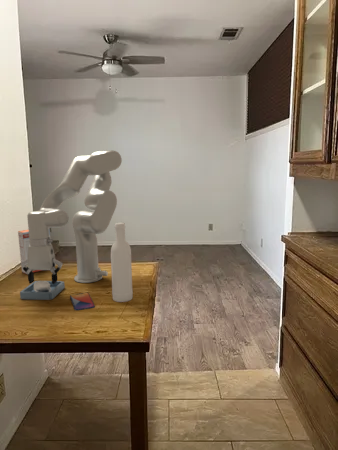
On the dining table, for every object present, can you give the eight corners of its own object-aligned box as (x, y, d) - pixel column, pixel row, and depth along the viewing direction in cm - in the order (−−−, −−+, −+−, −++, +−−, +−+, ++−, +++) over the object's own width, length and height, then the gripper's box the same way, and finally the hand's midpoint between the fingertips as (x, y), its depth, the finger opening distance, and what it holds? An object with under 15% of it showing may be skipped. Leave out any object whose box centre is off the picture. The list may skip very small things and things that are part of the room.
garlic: (52, 291, 142) (53, 282, 143) (35, 292, 139) (35, 282, 139) (48, 289, 149) (48, 280, 149) (31, 289, 146) (31, 280, 146)
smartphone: (74, 312, 128) (74, 309, 128) (70, 297, 142) (69, 294, 142) (95, 309, 131) (95, 306, 131) (88, 294, 145) (88, 292, 144)
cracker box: (47, 266, 185) (44, 226, 181) (53, 268, 181) (50, 228, 177) (21, 272, 175) (17, 230, 172) (26, 274, 171) (22, 232, 167)
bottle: (113, 295, 143) (110, 221, 138) (132, 294, 144) (130, 221, 138) (111, 302, 135) (108, 225, 130) (132, 301, 136) (130, 224, 131)
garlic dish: (65, 287, 152) (64, 281, 152) (51, 299, 139) (51, 293, 138) (35, 286, 154) (35, 280, 153) (19, 299, 140) (19, 292, 139)
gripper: (64, 239, 145) (66, 279, 148) (23, 239, 147) (27, 279, 150) (56, 244, 138) (60, 286, 141) (14, 244, 140) (18, 285, 143)
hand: (43, 282), depth 146 cm, fingers open, 9 cm apart
